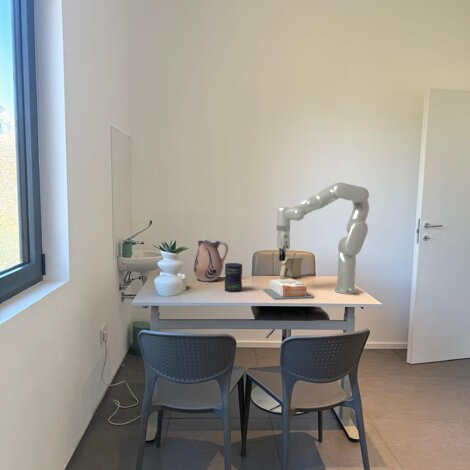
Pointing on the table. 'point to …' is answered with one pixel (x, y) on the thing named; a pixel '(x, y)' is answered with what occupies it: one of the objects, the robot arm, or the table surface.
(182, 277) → the white gift box
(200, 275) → the ceramic pitcher
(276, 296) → the mat
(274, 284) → the cracker box
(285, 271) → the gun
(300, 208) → the robot arm
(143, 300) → the table surface
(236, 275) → the storage jar
